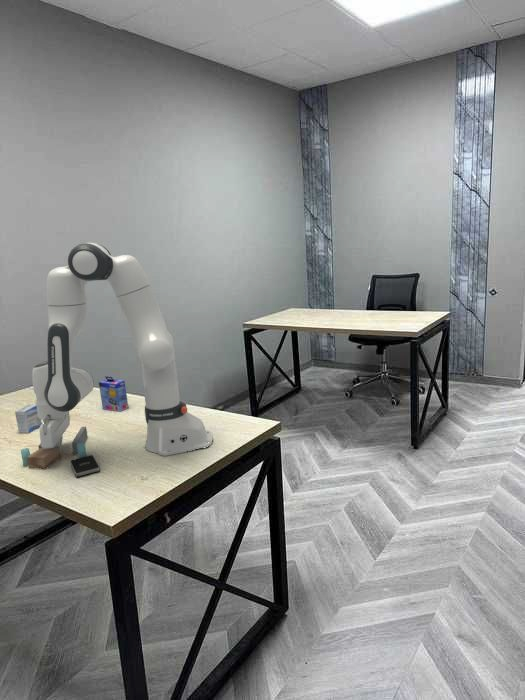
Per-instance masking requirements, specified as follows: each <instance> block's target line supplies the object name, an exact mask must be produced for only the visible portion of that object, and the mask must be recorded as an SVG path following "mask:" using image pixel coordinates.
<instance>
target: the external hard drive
mask: <svg viewBox="0 0 525 700" xmlns="http://www.w3.org/2000/svg"><path fill="white" fill-rule="evenodd" d="M69 464H70V467H71V469H72V472H73V475H74V476H75V478H76V479H80V477H81V478H84V477H87V476H90V475H94V474H98V473H100V472H101V467H100V465H99V463H98V461H97V460H96V458H95V456H94V455H93V454H89V455H86V456H85V457H81V458H79V457H77V458H75V459H71V460H70V461H69Z"/></svg>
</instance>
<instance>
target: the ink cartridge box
mask: <svg viewBox="0 0 525 700" xmlns="http://www.w3.org/2000/svg"><path fill="white" fill-rule="evenodd" d="M104 377H105V379H102V380H100V381H98V387H99V393H100V399H101V406H102V410H105V411H112V412H119V413H120V412H122V411H124V410H126V409H129V403H128V395H127V389H126V383H125V380H124V379H114V378H113V377H112V376H106V375H105V376H104Z"/></svg>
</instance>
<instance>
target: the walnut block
mask: <svg viewBox="0 0 525 700" xmlns="http://www.w3.org/2000/svg"><path fill="white" fill-rule="evenodd" d="M61 459H62V453H61V450H60V447H54V448H48V449H43V448H40V449H39V448H38V449H36V450H35V451H34V452H32V453H30V455H29V456H27V462H28V466H27V467H28V469H34V468H39V469H38V470H47V469H48V468H49V467H51V466H52V465H54V464H55V463H56V462H58V461H59V460H61ZM57 460H58V461H57ZM50 465H51V466H50ZM47 467H48V468H47ZM40 468H41V469H40Z"/></svg>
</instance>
